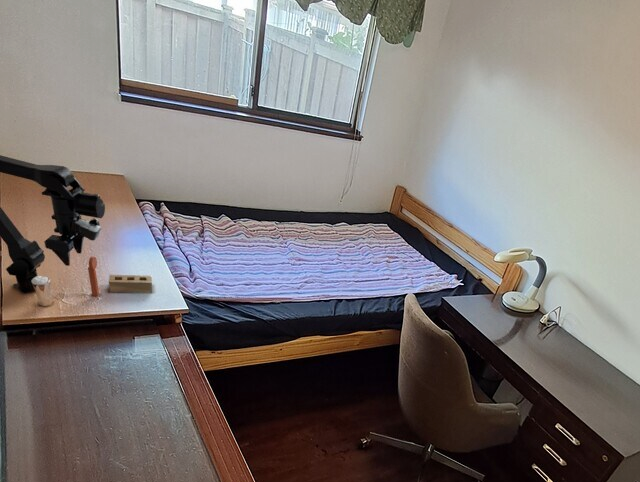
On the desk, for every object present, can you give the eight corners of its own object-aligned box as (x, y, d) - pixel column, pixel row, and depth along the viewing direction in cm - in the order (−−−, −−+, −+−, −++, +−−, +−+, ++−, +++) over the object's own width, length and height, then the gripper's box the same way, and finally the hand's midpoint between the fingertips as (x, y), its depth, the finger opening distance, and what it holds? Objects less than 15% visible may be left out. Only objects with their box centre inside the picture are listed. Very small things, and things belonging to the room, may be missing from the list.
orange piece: (90, 297, 151) (84, 259, 143) (95, 291, 154) (89, 254, 146) (97, 298, 151) (91, 260, 143) (101, 292, 154) (96, 254, 147)
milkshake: (48, 309, 141) (42, 280, 135) (33, 304, 141) (26, 275, 136) (60, 303, 145) (54, 275, 139) (45, 298, 145) (38, 270, 139)
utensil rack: (111, 284, 159) (109, 274, 157) (152, 285, 165) (151, 275, 163) (110, 292, 156) (108, 282, 153) (152, 292, 161) (151, 282, 159)
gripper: (83, 227, 129) (91, 275, 138) (105, 206, 144) (111, 251, 153) (38, 220, 127) (49, 270, 135) (66, 199, 141) (74, 246, 150)
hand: (73, 259), depth 143 cm, fingers open, 9 cm apart
